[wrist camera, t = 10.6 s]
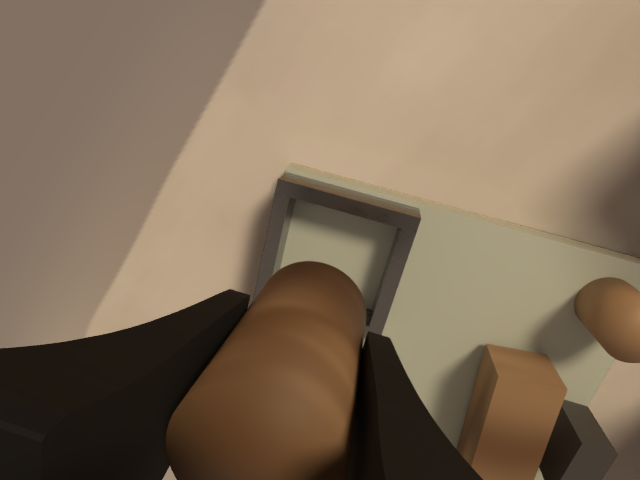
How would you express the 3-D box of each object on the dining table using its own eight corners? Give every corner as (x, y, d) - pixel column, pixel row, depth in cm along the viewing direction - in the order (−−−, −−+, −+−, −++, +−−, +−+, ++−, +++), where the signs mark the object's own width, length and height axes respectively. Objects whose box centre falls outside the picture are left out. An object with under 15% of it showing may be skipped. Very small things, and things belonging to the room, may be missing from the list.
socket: (419, 208, 18) (421, 218, 16) (380, 324, 20) (378, 342, 18) (288, 172, 18) (278, 178, 17) (262, 288, 20) (252, 304, 19)
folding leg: (489, 522, 22) (502, 581, 19) (439, 510, 22) (445, 567, 20) (546, 354, 19) (572, 398, 16) (485, 343, 19) (501, 384, 16)
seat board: (649, 260, 18) (716, 303, 14) (508, 510, 23) (530, 588, 20) (292, 163, 19) (268, 178, 16) (236, 421, 25) (208, 479, 21)
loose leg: (380, 280, 13) (371, 419, 7) (349, 372, 14) (318, 556, 8) (272, 247, 13) (180, 355, 7) (250, 340, 14) (154, 496, 8)
